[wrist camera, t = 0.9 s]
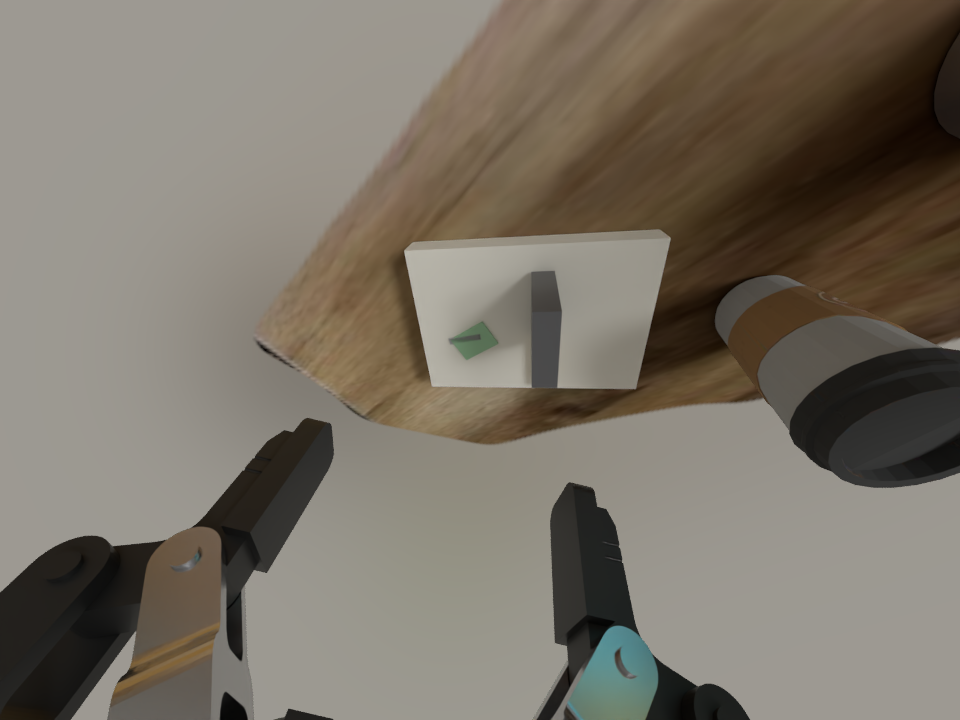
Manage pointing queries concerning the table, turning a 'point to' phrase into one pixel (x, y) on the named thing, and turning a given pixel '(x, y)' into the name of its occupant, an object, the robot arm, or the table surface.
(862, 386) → the coffee cup
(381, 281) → the table surface
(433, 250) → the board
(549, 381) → the dark gray beam
